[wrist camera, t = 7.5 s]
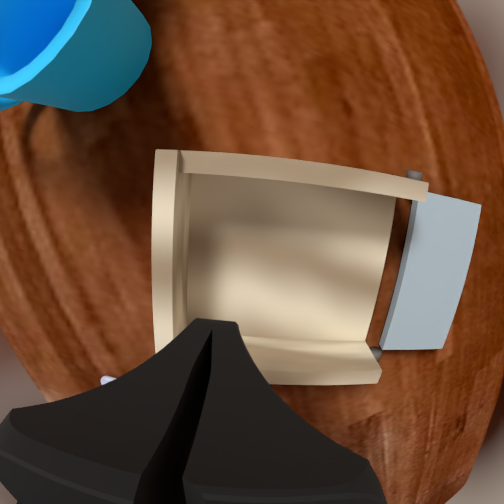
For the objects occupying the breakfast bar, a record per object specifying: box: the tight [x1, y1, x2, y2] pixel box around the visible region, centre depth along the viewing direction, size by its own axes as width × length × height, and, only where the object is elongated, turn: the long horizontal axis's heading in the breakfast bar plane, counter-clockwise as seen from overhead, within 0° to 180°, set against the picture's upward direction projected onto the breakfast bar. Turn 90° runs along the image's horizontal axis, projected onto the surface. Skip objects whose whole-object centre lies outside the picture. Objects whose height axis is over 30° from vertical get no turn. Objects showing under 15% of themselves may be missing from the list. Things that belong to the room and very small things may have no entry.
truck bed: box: [152, 149, 429, 385], centre depth 17 cm, size 13×15×5 cm
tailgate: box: [379, 192, 481, 350], centre depth 18 cm, size 11×1×5 cm
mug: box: [0, 0, 152, 112], centre depth 11 cm, size 12×8×8 cm
